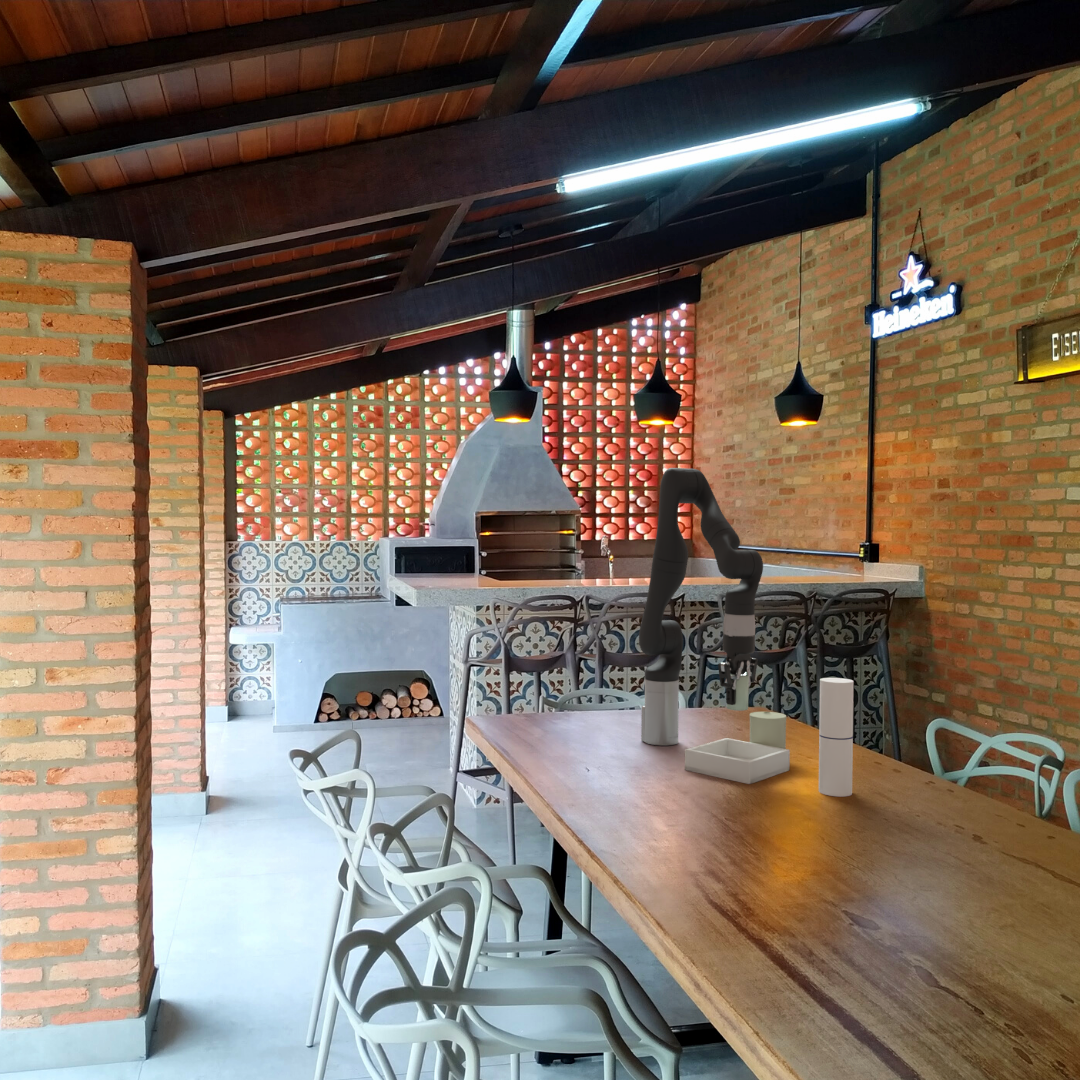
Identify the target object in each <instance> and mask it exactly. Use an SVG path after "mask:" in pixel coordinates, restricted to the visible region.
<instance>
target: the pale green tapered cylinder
mask: <svg viewBox="0 0 1080 1080" xmlns="http://www.w3.org/2000/svg"><path fill="white" fill-rule="evenodd" d="M731 676H735V675H731ZM731 682H733V679H731ZM748 688H750V686H749V676H748V675H744V674H741V675H740V679H739V680H738V681H737V684H736V688H735V689H736V704H735V705H729V704H727V703H726V709H728V710H730V711H748V709H749V697H748Z"/></svg>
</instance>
